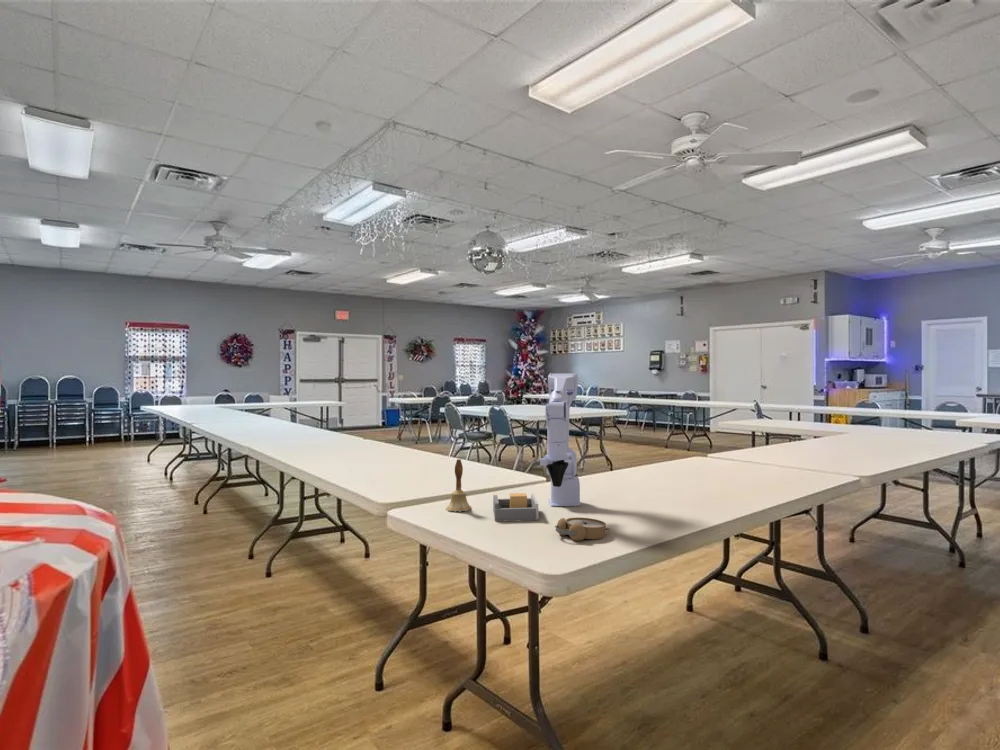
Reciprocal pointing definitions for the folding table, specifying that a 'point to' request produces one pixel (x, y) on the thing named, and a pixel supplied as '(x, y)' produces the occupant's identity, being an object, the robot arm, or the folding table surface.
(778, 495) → the folding table surface
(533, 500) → the tray
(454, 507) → the hand bell
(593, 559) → the folding table surface
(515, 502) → the block
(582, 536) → the alarm clock
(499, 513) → the frame
